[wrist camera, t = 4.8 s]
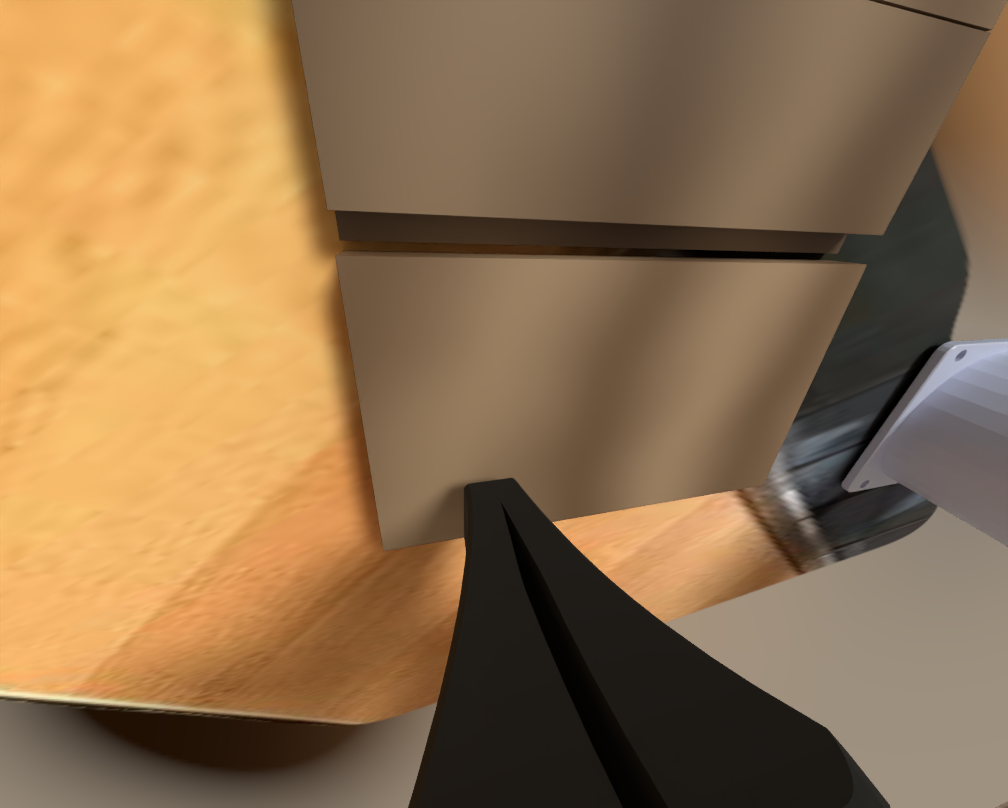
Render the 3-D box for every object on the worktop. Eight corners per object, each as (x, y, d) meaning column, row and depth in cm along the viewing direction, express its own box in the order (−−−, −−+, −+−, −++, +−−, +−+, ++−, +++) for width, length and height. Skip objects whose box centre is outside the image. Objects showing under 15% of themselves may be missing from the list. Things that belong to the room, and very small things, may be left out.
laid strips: (1061, -242, 7) (1176, -317, 6) (827, 252, 11) (870, 258, 10) (179, -775, 3) (88, -1184, 2) (341, 238, 8) (333, 246, 7)
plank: (824, 260, 11) (866, 264, 10) (737, 466, 15) (763, 485, 14) (343, 250, 8) (335, 255, 7) (384, 521, 11) (383, 551, 10)
